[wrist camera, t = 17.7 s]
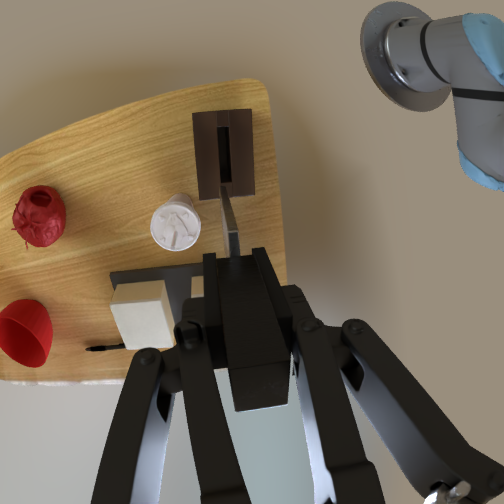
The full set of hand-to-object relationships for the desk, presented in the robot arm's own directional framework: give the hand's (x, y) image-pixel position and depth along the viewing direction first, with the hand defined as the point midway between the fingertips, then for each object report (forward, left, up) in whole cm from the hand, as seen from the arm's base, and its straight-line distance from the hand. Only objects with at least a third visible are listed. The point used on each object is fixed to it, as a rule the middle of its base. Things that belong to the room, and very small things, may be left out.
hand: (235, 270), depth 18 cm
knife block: (-1, -4, -28) cm, 28 cm away
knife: (0, 0, -9) cm, 9 cm away
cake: (+15, +22, -28) cm, 38 cm away
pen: (+25, +31, -28) cm, 49 cm away
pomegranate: (+29, +1, -28) cm, 41 cm away
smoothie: (+6, +4, -28) cm, 29 cm away
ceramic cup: (+43, +22, -28) cm, 56 cm away
